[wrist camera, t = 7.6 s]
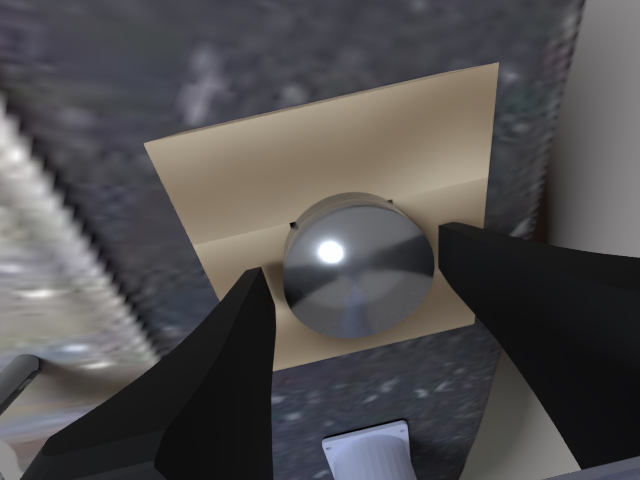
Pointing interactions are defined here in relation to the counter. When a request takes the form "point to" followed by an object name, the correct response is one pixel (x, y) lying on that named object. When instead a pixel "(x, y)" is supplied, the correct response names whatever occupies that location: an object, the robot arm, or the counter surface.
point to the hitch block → (335, 187)
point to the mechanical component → (16, 380)
